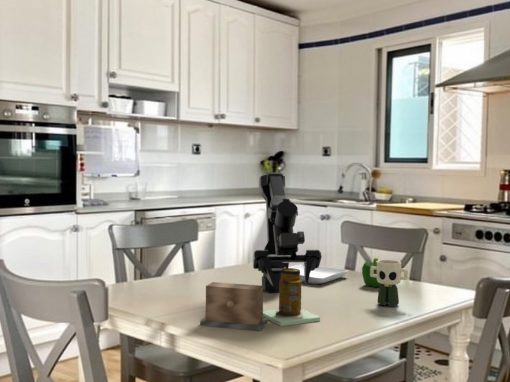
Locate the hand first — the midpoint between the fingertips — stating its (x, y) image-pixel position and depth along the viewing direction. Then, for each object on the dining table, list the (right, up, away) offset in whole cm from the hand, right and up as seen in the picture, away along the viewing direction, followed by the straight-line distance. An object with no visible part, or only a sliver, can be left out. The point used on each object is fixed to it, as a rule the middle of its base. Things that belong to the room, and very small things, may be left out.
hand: (290, 285), depth 155 cm
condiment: (0, -8, +1) cm, 8 cm away
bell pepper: (+31, -8, +42) cm, 53 cm away
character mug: (+30, -9, +16) cm, 35 cm away
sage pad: (0, -9, +1) cm, 9 cm away
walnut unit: (-15, -9, -6) cm, 18 cm away
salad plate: (+11, -7, +54) cm, 56 cm away
